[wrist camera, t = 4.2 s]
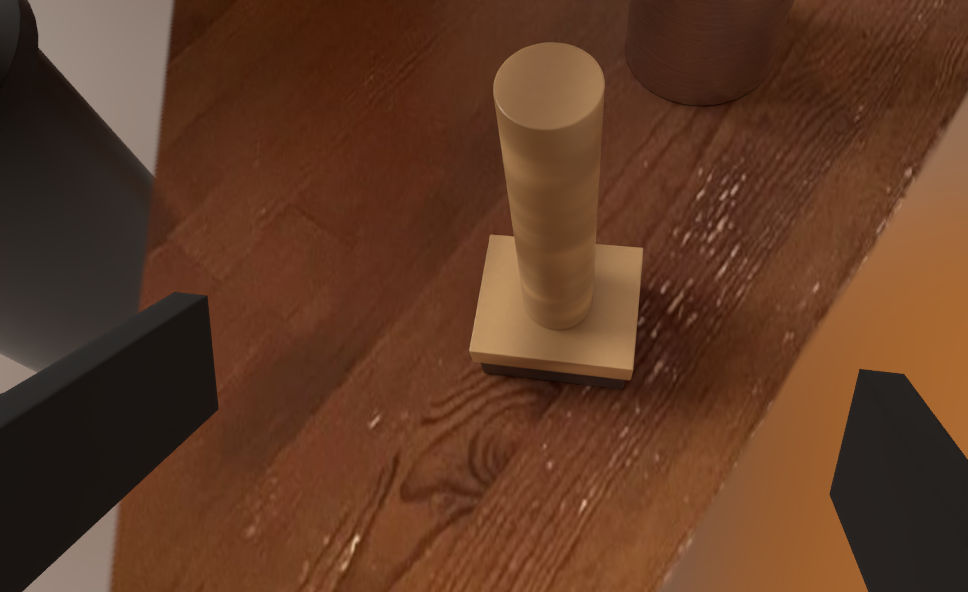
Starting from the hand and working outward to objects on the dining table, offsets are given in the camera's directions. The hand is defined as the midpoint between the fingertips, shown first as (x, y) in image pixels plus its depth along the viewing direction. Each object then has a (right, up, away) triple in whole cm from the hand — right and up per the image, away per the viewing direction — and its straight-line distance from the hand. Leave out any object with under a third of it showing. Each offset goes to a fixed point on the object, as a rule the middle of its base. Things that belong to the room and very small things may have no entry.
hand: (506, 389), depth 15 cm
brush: (+3, +1, +16) cm, 16 cm away
